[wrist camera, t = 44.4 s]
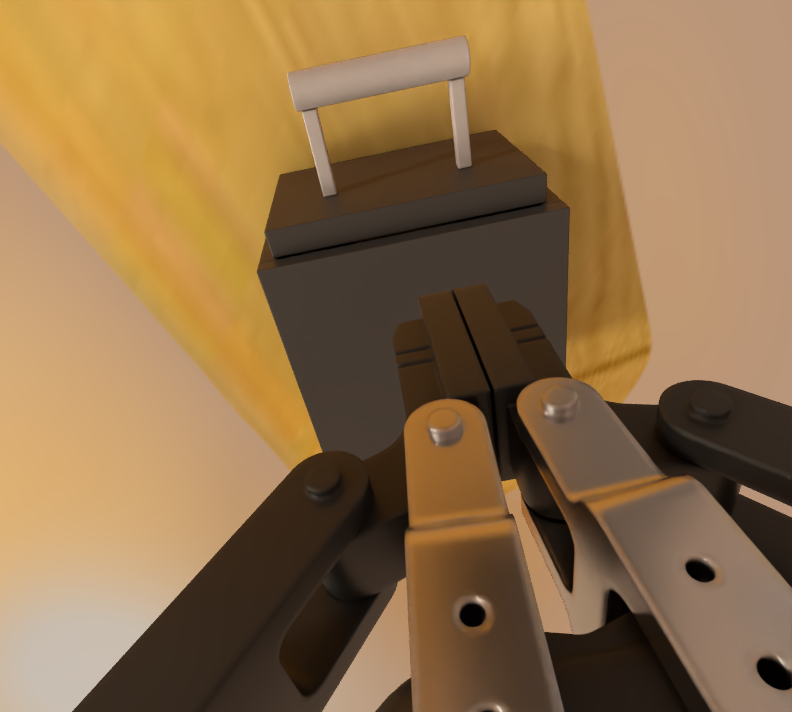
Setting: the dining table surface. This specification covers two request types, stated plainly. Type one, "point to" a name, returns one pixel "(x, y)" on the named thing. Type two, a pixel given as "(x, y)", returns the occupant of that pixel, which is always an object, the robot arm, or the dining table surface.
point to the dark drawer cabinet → (403, 309)
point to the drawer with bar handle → (395, 160)
